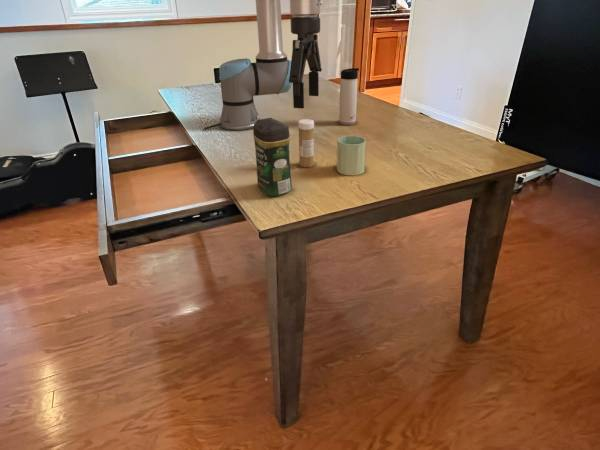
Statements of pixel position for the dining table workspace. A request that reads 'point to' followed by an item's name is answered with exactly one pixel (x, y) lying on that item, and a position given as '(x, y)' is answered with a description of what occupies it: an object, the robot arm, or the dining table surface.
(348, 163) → the cup
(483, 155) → the dining table surface
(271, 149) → the coffee jar
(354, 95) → the travel mug
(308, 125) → the sprinkles bottle
